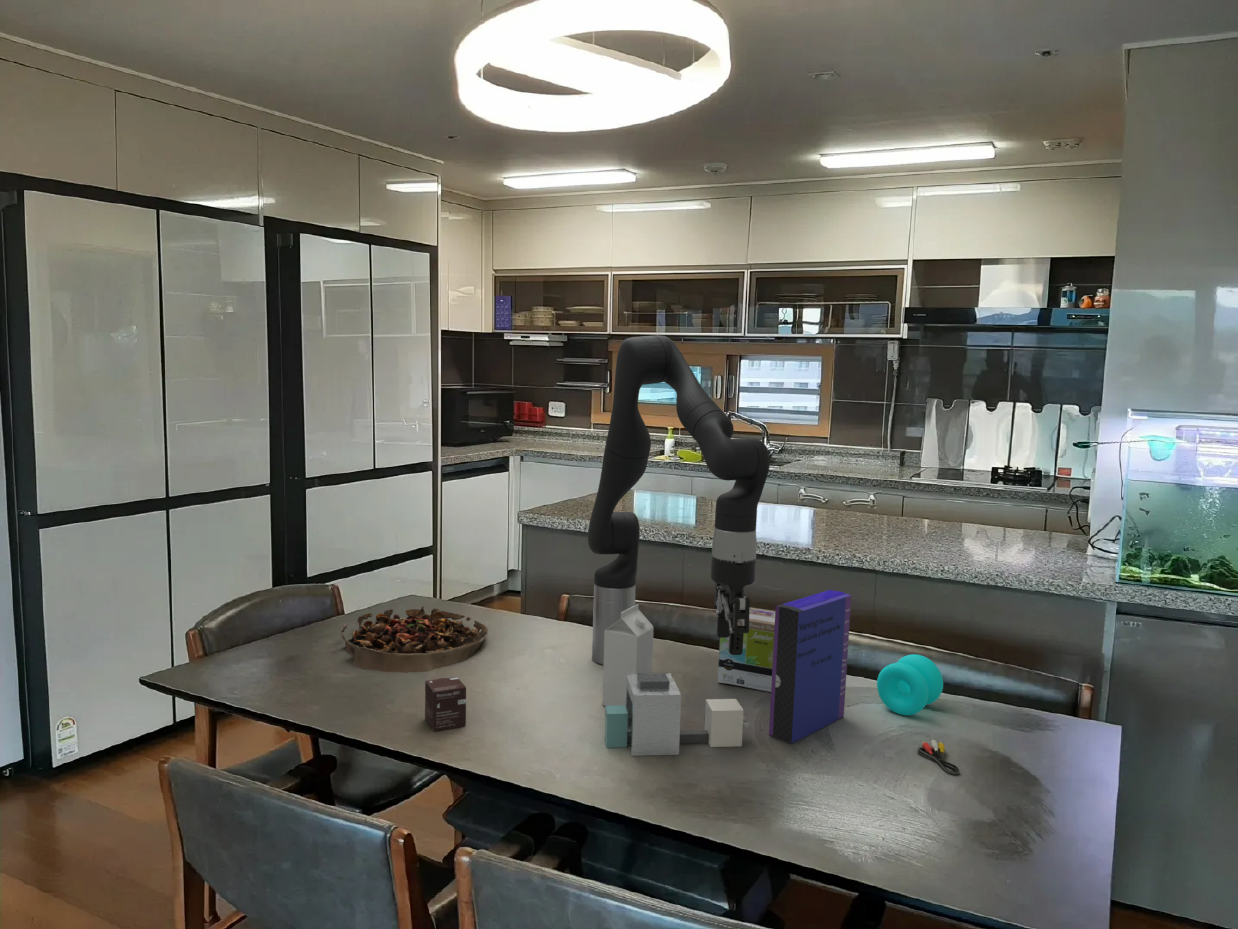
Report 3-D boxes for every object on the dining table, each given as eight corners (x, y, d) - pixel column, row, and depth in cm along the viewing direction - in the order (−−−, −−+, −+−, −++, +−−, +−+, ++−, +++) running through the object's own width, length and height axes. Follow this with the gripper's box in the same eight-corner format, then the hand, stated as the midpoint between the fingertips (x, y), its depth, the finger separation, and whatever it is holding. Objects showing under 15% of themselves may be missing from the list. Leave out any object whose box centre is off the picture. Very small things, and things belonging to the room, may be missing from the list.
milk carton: (601, 706, 159) (604, 609, 157) (619, 694, 165) (622, 601, 163) (635, 714, 156) (638, 615, 154) (651, 701, 162) (654, 606, 160)
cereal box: (821, 710, 160) (828, 589, 158) (843, 717, 157) (851, 594, 154) (768, 735, 148) (775, 604, 146) (791, 744, 145) (798, 611, 142)
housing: (624, 730, 148) (626, 667, 147) (668, 729, 149) (670, 666, 148) (631, 756, 139) (634, 688, 137) (678, 754, 140) (681, 687, 138)
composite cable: (962, 778, 135) (963, 763, 135) (933, 777, 135) (934, 762, 135) (940, 750, 145) (941, 737, 145) (912, 749, 145) (913, 736, 145)
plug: (603, 736, 146) (605, 701, 145) (742, 733, 149) (744, 698, 148) (606, 749, 141) (608, 713, 140) (750, 746, 144) (751, 710, 143)
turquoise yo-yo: (943, 709, 163) (947, 660, 162) (922, 724, 155) (926, 672, 154) (895, 694, 169) (898, 647, 168) (872, 708, 162) (875, 658, 161)
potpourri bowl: (377, 623, 210) (378, 593, 210) (504, 635, 206) (505, 604, 205) (307, 666, 176) (308, 630, 175) (457, 681, 171) (458, 645, 170)
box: (432, 732, 146) (433, 692, 145) (424, 719, 151) (424, 680, 150) (466, 726, 148) (467, 687, 147) (456, 714, 154) (457, 675, 153)
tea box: (716, 684, 172) (719, 615, 171) (728, 669, 181) (731, 603, 180) (788, 697, 167) (792, 625, 165) (797, 680, 176) (801, 612, 174)
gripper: (703, 544, 148) (699, 632, 150) (722, 564, 134) (717, 660, 136) (743, 545, 149) (739, 631, 151) (767, 564, 135) (762, 660, 137)
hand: (729, 645), depth 144 cm, fingers open, 8 cm apart
